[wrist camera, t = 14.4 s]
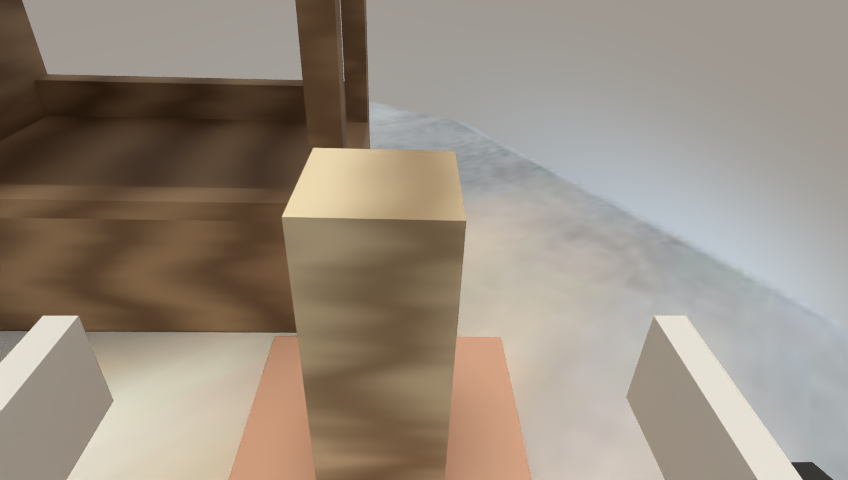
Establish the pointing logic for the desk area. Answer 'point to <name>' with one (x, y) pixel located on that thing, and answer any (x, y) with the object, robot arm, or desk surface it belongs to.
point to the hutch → (165, 182)
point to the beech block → (377, 307)
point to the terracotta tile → (468, 428)
